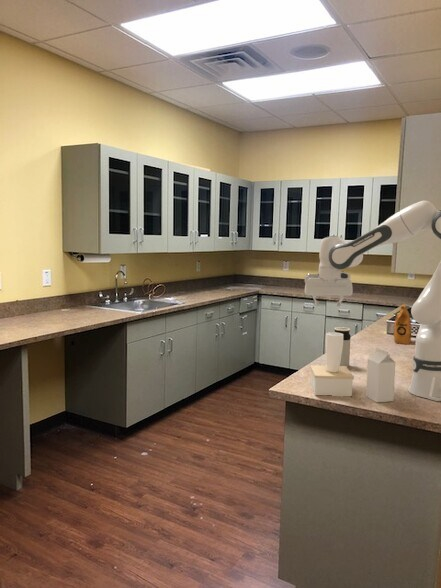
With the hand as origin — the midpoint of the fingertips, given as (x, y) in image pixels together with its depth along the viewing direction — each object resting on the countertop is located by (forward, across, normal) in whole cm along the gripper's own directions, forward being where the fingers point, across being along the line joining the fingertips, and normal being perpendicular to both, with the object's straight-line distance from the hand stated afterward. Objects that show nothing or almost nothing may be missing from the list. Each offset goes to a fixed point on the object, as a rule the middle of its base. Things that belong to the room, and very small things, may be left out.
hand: (327, 305), depth 202 cm
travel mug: (+31, +10, +17) cm, 37 cm away
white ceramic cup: (+23, -1, -21) cm, 31 cm away
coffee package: (+31, +56, +73) cm, 97 cm away
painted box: (+31, -1, -20) cm, 37 cm away
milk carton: (+31, +16, -29) cm, 46 cm away
